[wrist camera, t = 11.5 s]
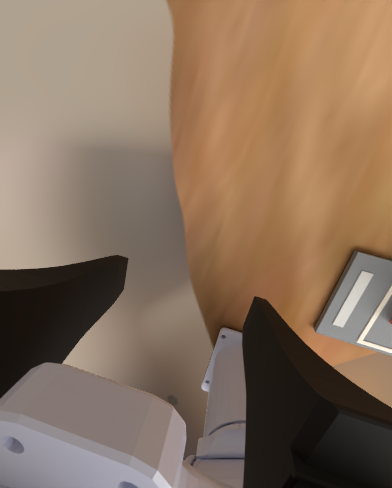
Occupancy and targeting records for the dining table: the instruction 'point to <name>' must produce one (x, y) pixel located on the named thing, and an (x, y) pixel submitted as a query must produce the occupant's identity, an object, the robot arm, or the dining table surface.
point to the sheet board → (361, 304)
